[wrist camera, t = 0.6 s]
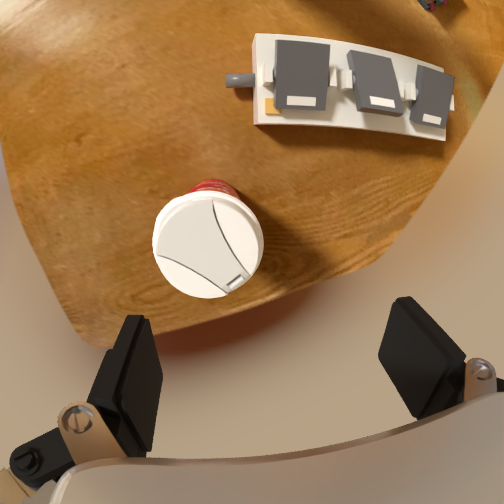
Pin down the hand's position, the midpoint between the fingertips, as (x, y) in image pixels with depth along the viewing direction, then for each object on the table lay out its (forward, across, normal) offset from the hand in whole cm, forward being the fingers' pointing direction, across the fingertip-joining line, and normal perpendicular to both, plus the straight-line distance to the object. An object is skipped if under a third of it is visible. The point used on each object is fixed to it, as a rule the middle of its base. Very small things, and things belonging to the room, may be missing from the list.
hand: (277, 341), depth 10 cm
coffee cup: (+26, +3, +1) cm, 26 cm away
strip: (+25, -12, -13) cm, 31 cm away
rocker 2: (+20, -22, -14) cm, 32 cm away
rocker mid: (+20, -14, -14) cm, 28 cm away
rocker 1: (+20, -6, -13) cm, 25 cm away
